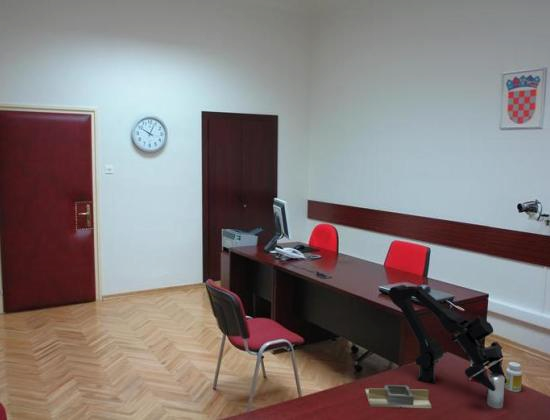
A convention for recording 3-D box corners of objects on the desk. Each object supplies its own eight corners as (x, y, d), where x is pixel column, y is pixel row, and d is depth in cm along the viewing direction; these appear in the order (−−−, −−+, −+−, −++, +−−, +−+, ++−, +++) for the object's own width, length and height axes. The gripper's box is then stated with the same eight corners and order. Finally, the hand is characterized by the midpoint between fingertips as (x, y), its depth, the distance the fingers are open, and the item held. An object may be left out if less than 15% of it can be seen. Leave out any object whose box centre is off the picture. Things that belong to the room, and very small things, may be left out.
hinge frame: (365, 391, 179) (365, 379, 178) (422, 393, 178) (423, 381, 178) (370, 406, 168) (370, 394, 167) (431, 408, 167) (431, 395, 167)
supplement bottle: (522, 388, 183) (524, 364, 182) (518, 393, 179) (520, 368, 178) (507, 384, 186) (509, 359, 185) (503, 388, 182) (504, 364, 181)
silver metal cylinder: (487, 400, 174) (488, 372, 172) (502, 402, 172) (504, 374, 171) (487, 406, 169) (489, 377, 168) (503, 409, 167) (505, 380, 166)
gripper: (475, 342, 165) (506, 384, 158) (499, 330, 177) (529, 368, 170) (452, 357, 171) (481, 398, 164) (477, 344, 184) (505, 382, 177)
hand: (500, 386), depth 169 cm, fingers open, 9 cm apart
